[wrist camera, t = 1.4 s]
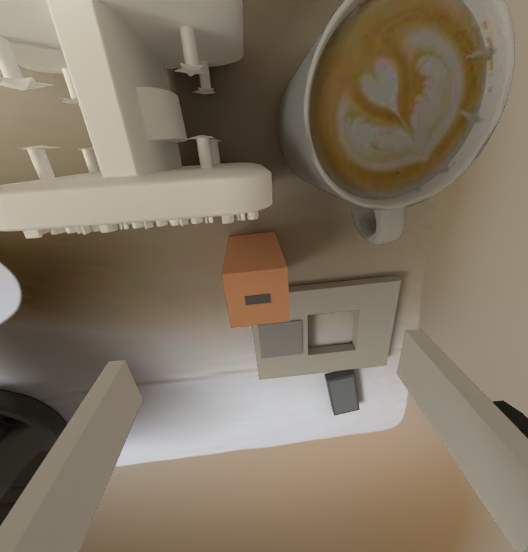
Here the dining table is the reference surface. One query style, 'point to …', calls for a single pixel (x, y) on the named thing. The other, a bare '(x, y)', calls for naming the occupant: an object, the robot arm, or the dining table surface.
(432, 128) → the coffee mug
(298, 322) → the outlet plate
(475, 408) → the robot arm
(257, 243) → the block
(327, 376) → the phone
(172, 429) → the dining table surface
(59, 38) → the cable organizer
